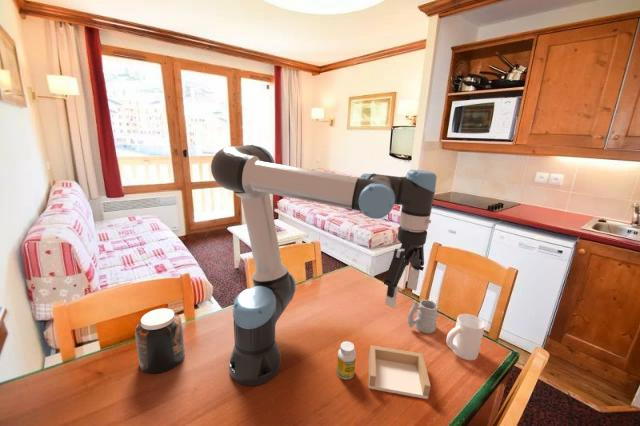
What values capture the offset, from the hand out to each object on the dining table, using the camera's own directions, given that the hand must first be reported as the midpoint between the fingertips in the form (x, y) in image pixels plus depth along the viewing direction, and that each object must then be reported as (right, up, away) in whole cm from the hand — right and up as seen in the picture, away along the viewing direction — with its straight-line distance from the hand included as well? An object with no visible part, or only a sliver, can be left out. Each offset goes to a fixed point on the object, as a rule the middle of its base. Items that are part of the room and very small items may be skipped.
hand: (401, 296), depth 83 cm
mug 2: (+23, -23, +13) cm, 35 cm away
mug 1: (+14, -19, +24) cm, 33 cm away
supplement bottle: (-16, -23, +2) cm, 29 cm away
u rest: (-1, -24, +2) cm, 24 cm away
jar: (-72, -20, +3) cm, 75 cm away
